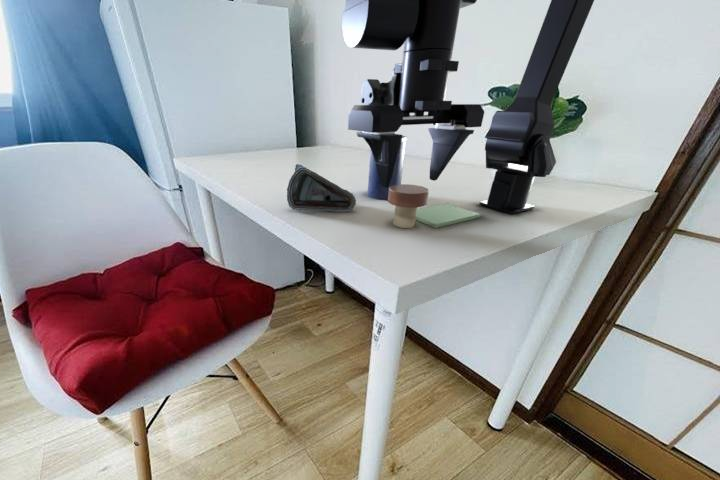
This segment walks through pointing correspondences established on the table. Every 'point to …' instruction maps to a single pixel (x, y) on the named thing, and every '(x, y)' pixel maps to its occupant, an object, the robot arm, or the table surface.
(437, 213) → the napkin
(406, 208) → the mushroom
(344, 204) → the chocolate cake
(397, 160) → the can
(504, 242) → the table surface
